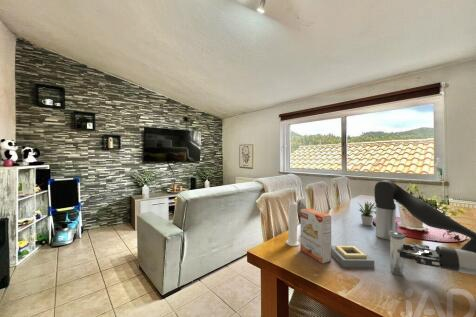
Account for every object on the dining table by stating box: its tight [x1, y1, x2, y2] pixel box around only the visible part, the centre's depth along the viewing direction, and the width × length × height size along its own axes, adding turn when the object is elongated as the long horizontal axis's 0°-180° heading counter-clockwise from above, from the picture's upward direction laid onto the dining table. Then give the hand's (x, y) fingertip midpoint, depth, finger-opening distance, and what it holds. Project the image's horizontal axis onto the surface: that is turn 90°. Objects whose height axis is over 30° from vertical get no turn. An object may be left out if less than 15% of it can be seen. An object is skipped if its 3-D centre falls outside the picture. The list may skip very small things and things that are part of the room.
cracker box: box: [299, 207, 332, 265], centre depth 92 cm, size 14×6×21 cm, turn 23°
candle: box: [285, 197, 300, 247], centre depth 105 cm, size 7×7×25 cm
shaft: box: [389, 230, 406, 277], centre depth 79 cm, size 5×5×16 cm
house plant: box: [357, 201, 376, 226], centre depth 135 cm, size 14×14×16 cm
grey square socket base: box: [331, 245, 375, 269], centre depth 89 cm, size 13×13×4 cm
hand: (397, 249), depth 78 cm, fingers open, 8 cm apart
